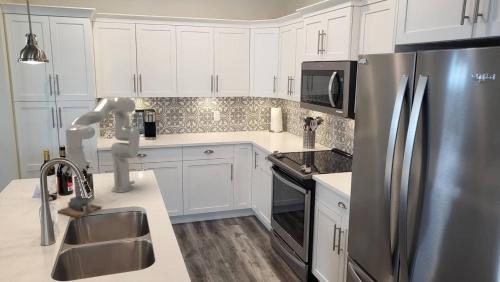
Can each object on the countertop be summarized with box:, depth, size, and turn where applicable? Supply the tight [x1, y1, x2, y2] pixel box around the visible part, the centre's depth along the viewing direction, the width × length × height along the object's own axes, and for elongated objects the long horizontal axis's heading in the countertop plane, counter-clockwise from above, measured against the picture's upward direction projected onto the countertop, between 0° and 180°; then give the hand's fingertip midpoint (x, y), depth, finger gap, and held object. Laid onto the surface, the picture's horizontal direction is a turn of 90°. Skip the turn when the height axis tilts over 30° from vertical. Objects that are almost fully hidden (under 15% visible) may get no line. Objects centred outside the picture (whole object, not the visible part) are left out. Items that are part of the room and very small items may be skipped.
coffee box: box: [73, 172, 95, 203], centre depth 220 cm, size 9×6×16 cm
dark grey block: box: [69, 196, 89, 211], centre depth 205 cm, size 5×8×6 cm, turn 64°
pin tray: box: [57, 201, 102, 219], centre depth 205 cm, size 16×16×4 cm
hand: (77, 180), depth 202 cm, fingers open, 9 cm apart
